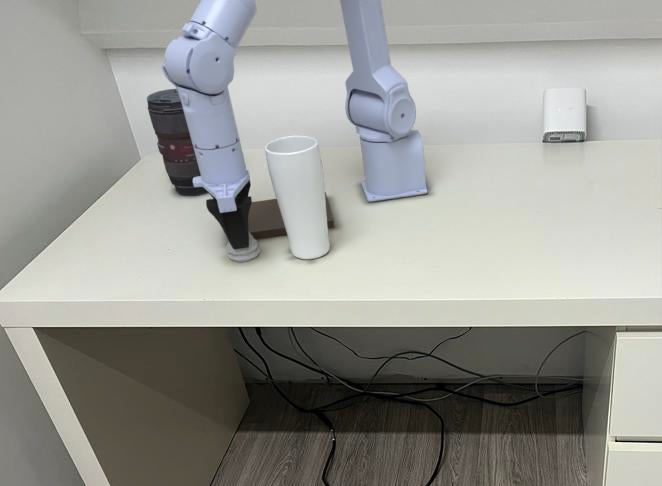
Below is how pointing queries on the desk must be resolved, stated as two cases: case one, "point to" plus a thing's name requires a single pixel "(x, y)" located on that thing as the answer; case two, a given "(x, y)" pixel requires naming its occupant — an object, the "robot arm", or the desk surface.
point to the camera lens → (174, 141)
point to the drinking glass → (300, 193)
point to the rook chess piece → (244, 251)
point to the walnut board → (273, 219)
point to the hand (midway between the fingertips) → (240, 240)
